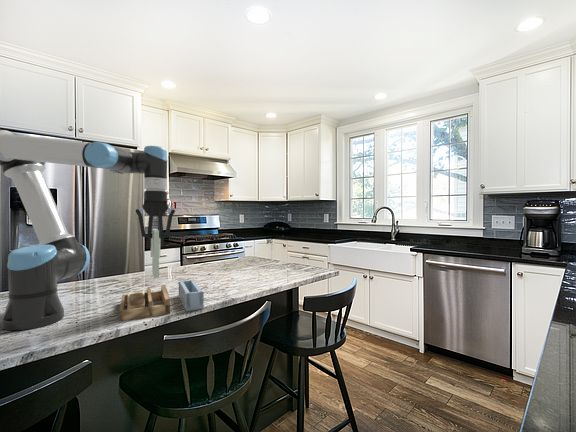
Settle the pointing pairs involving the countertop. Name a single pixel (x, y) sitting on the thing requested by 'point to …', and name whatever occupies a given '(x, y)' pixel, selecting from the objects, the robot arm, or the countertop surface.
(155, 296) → the rack
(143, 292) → the offcut pine
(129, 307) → the offcut oak
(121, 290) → the countertop surface
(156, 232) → the sheet
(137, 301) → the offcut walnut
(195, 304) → the stand
